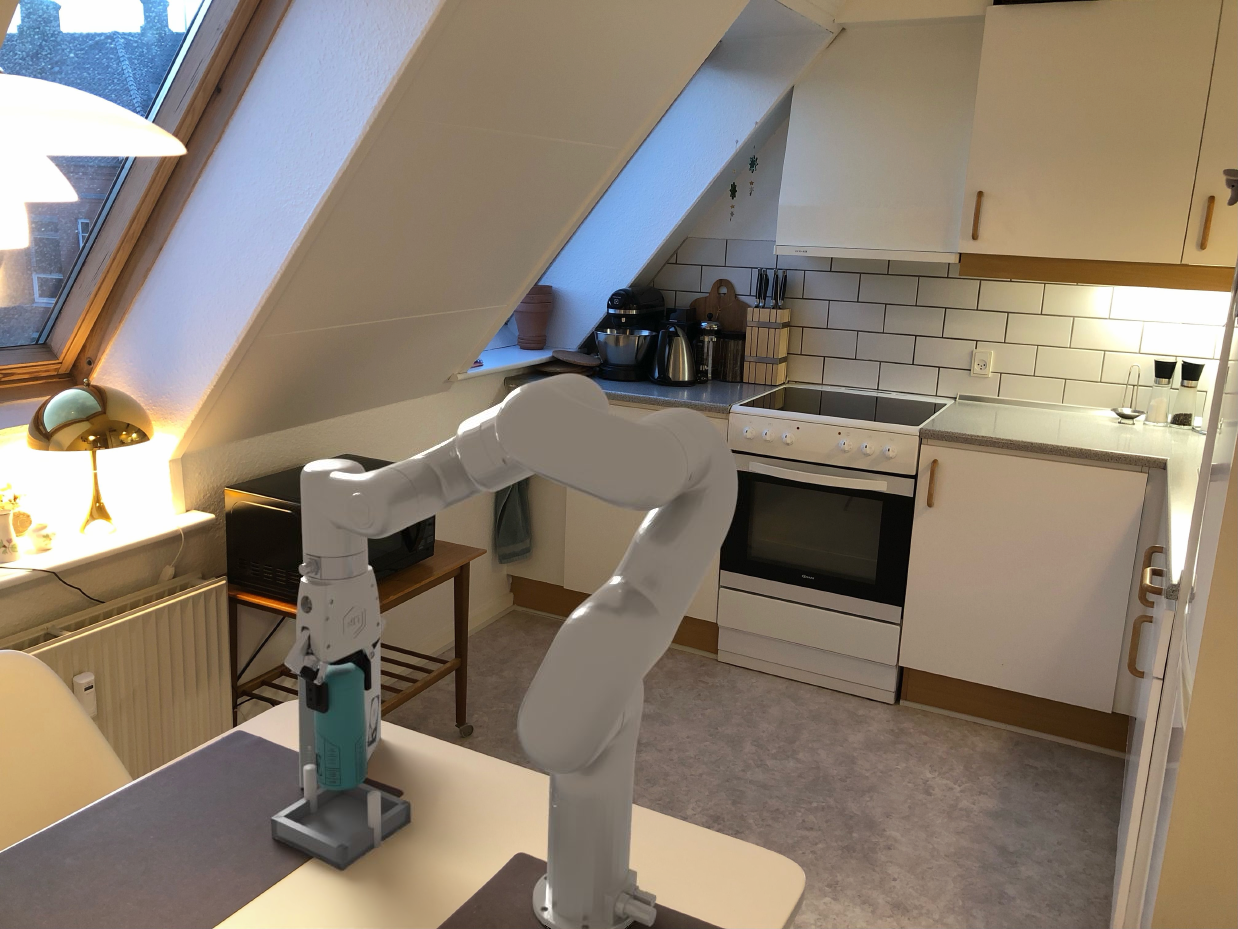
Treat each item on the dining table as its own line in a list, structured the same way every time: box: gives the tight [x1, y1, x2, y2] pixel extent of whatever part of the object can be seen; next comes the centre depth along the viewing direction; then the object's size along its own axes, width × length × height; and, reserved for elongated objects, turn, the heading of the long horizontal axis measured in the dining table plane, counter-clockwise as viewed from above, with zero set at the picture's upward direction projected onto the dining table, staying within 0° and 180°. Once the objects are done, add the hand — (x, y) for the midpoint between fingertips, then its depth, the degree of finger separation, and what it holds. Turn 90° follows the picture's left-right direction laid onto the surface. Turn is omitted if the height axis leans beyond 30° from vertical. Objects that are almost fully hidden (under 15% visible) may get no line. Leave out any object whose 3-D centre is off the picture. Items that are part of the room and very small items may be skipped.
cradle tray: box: [270, 764, 412, 871], centre depth 126 cm, size 13×12×7 cm
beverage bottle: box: [313, 653, 369, 790], centre depth 124 cm, size 6×7×20 cm
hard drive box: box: [297, 639, 382, 789], centre depth 141 cm, size 16×8×20 cm, turn 179°
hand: (339, 697), depth 123 cm, fingers closed on beverage bottle, 6 cm apart
